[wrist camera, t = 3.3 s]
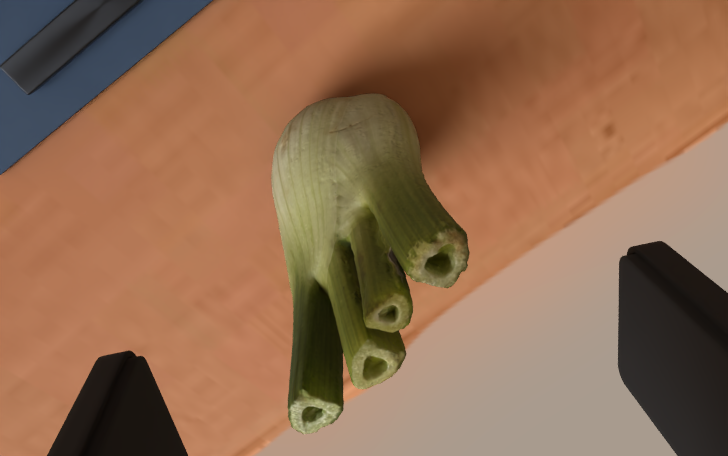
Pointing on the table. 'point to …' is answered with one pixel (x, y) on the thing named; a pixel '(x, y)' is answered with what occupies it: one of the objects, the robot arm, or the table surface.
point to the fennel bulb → (355, 245)
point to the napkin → (74, 65)
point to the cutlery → (63, 40)
